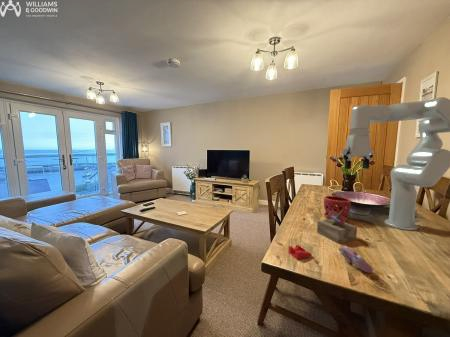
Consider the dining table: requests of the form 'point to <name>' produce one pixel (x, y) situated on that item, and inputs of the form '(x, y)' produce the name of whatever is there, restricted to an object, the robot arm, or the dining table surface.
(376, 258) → the dining table surface
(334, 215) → the geometric puzzle
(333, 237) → the walnut block
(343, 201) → the plant pot
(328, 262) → the dining table surface
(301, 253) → the bracket
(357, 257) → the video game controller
